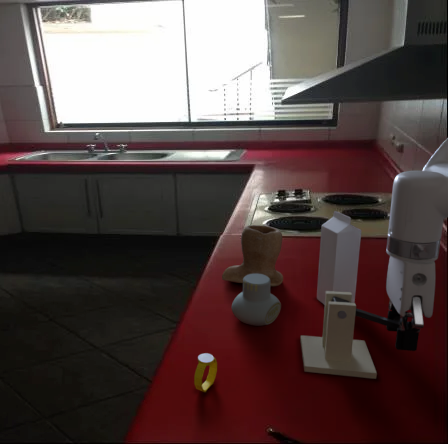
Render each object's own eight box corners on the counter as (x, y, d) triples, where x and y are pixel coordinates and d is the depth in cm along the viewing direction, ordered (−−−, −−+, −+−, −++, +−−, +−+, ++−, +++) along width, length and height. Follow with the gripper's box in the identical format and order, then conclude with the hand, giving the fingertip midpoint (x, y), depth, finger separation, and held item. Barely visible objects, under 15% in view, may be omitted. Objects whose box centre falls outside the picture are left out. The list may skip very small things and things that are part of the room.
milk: (338, 295, 102) (345, 208, 95) (354, 306, 96) (363, 215, 90) (315, 299, 101) (322, 211, 94) (331, 311, 95) (338, 219, 89)
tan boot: (285, 273, 115) (287, 222, 110) (280, 293, 105) (282, 237, 100) (231, 268, 121) (230, 218, 116) (221, 286, 110) (220, 232, 106)
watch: (205, 399, 71) (204, 370, 69) (190, 394, 72) (189, 365, 70) (221, 379, 75) (220, 351, 73) (207, 374, 77) (206, 346, 75)
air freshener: (260, 336, 87) (260, 293, 84) (226, 323, 93) (226, 282, 90) (284, 314, 95) (286, 274, 92) (252, 303, 100) (253, 265, 97)
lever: (398, 326, 77) (404, 315, 76) (407, 341, 72) (413, 330, 71) (327, 303, 79) (332, 292, 78) (331, 316, 74) (336, 305, 73)
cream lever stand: (364, 345, 82) (370, 287, 78) (376, 378, 73) (384, 314, 69) (300, 340, 85) (303, 283, 81) (304, 371, 76) (307, 309, 72)
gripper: (460, 267, 61) (442, 372, 66) (420, 229, 76) (408, 316, 82) (402, 265, 63) (390, 367, 68) (375, 228, 78) (367, 314, 84)
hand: (400, 338), depth 75 cm, fingers closed on lever, 5 cm apart
